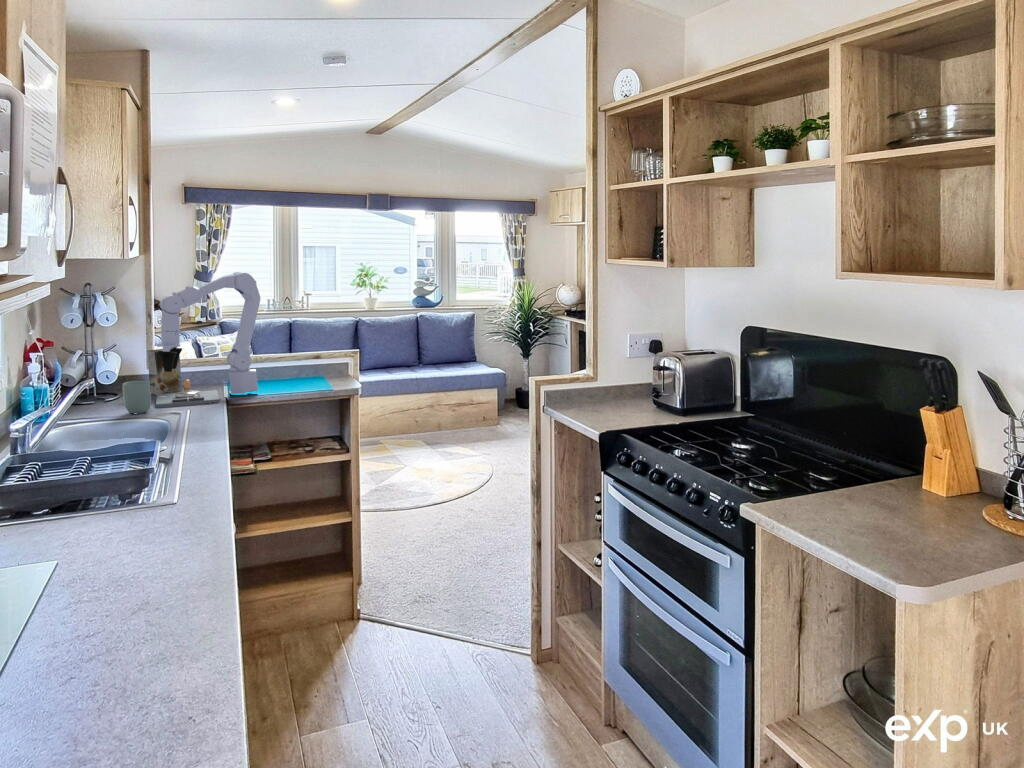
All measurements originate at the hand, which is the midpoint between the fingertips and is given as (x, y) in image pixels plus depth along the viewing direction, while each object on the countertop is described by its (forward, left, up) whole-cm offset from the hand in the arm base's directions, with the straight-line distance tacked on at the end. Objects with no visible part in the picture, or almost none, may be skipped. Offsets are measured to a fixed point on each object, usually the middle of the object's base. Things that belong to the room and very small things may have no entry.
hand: (170, 370), depth 255 cm
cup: (+10, +15, -11) cm, 21 cm away
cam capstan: (-5, -2, -10) cm, 11 cm away
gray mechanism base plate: (-5, 0, -11) cm, 12 cm away
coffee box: (+2, -18, -11) cm, 21 cm away
